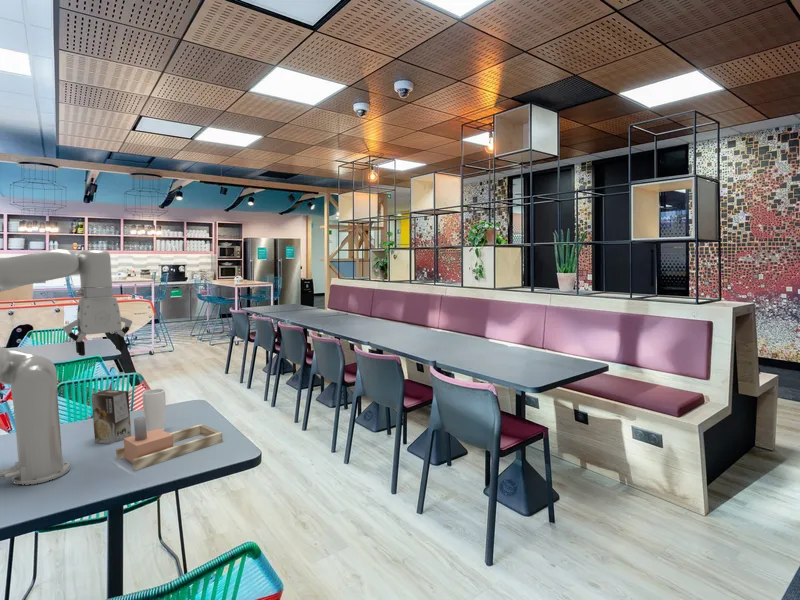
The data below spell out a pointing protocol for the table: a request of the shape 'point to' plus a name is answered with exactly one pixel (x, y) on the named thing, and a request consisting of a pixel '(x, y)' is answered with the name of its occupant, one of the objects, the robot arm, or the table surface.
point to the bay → (166, 454)
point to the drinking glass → (154, 409)
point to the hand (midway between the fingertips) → (101, 352)
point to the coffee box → (111, 416)
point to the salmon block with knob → (145, 441)
